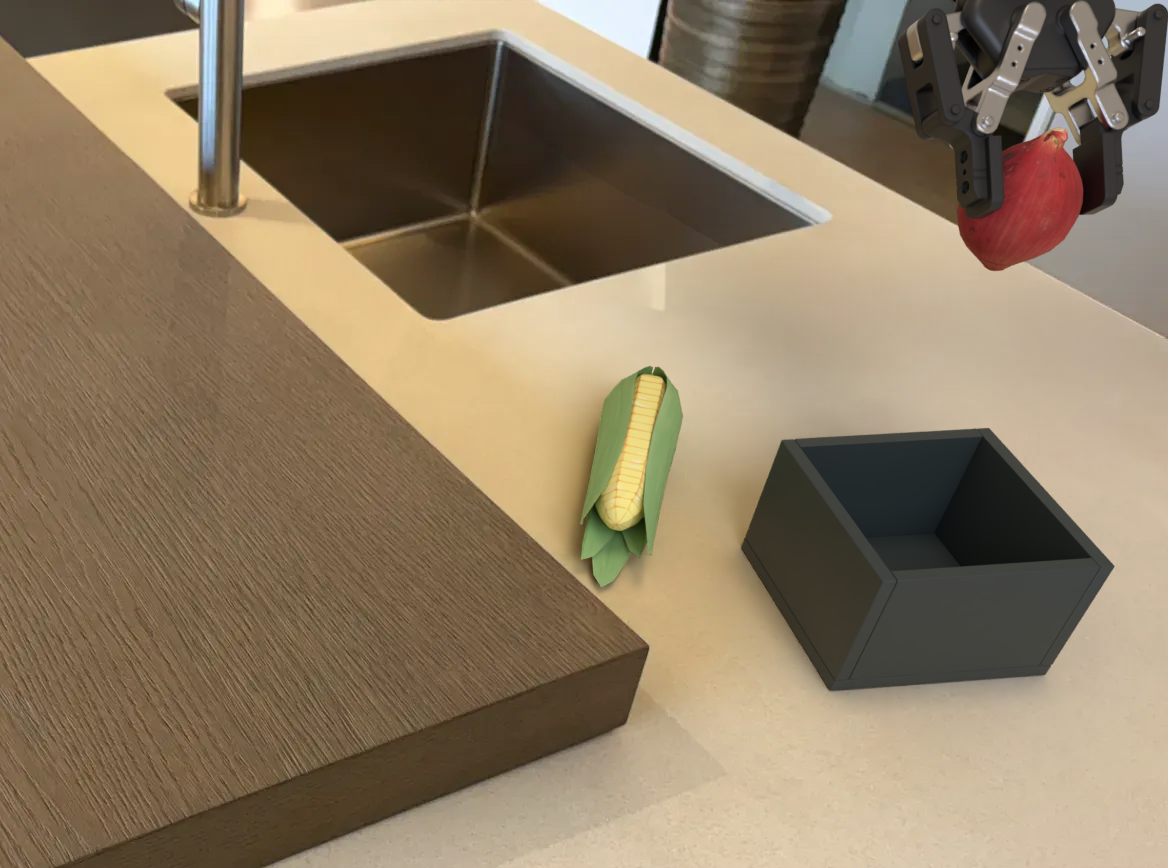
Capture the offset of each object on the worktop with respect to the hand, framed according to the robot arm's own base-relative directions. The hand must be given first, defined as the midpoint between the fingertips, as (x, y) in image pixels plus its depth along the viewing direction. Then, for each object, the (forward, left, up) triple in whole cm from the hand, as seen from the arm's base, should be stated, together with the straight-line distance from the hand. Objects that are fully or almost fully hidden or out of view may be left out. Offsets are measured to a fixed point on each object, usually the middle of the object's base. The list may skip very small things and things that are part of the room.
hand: (1041, 210), depth 73 cm
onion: (0, -2, -4) cm, 5 cm away
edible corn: (+18, -2, -19) cm, 26 cm away
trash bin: (+6, +10, -19) cm, 22 cm away
